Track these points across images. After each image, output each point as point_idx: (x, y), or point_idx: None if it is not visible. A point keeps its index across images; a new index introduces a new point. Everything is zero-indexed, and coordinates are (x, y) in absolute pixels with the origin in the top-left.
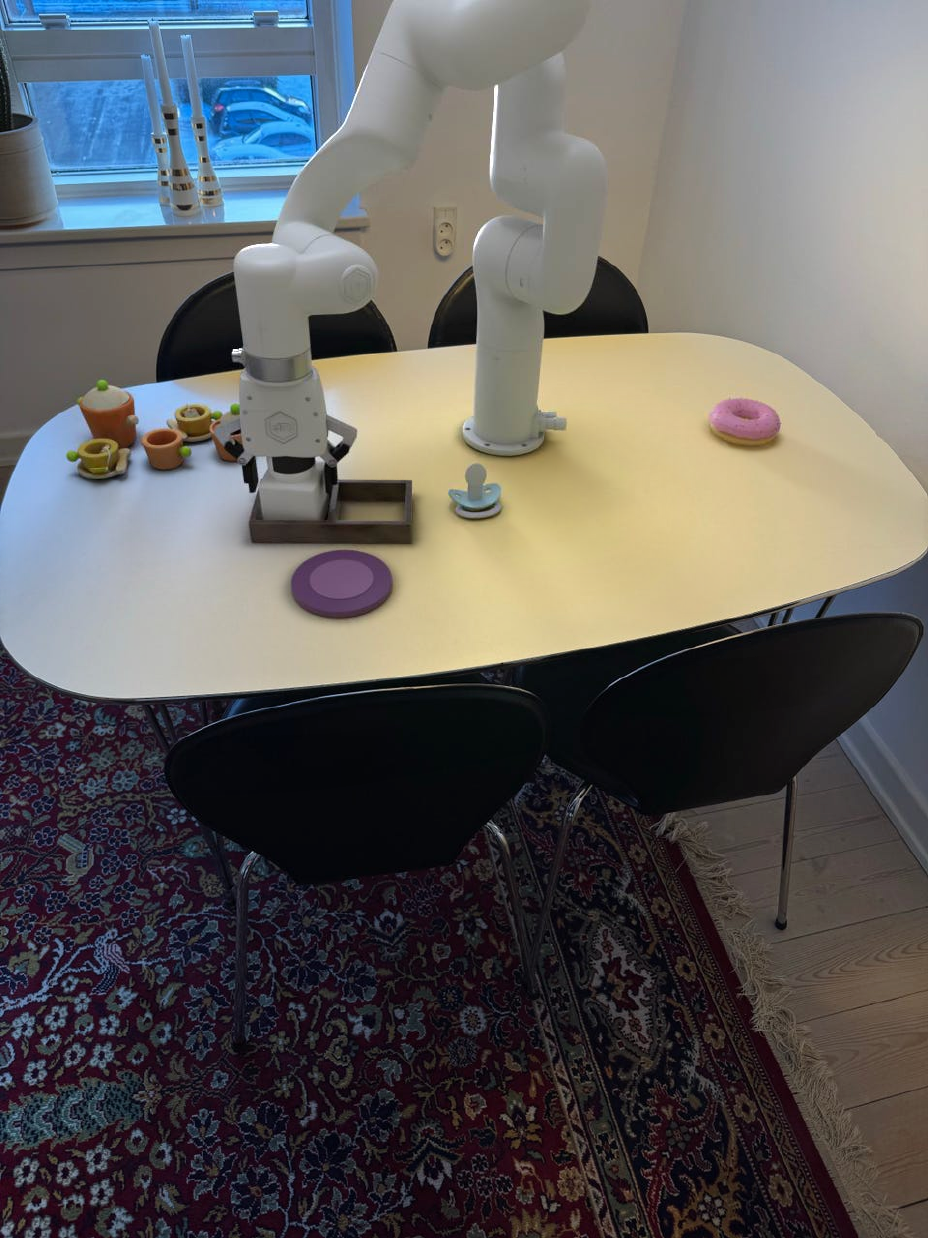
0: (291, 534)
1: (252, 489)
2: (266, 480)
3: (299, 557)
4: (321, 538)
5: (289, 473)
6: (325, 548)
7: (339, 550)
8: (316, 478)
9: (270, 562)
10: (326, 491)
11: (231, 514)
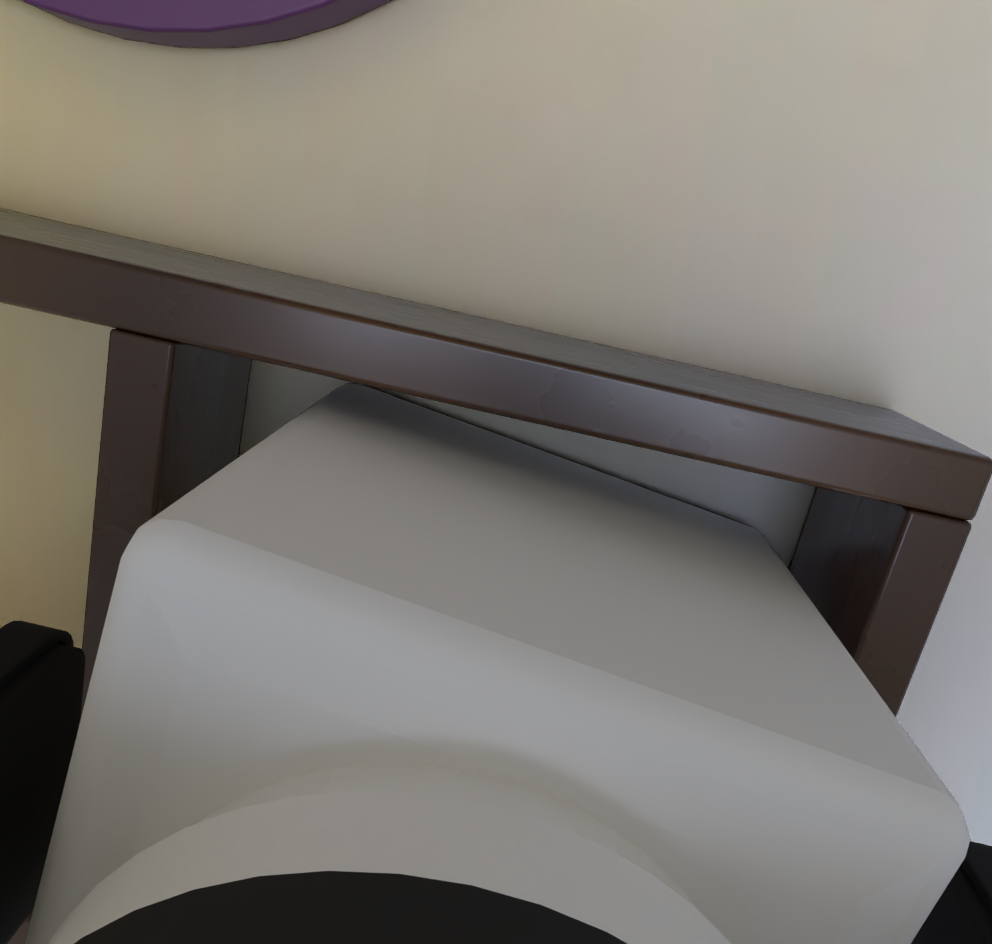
0: (563, 343)
1: (976, 868)
2: (841, 920)
3: (527, 106)
4: (306, 282)
5: (448, 891)
6: (295, 198)
7: (143, 13)
8: (75, 821)
9: (788, 80)
10: (56, 655)
11: (974, 813)
